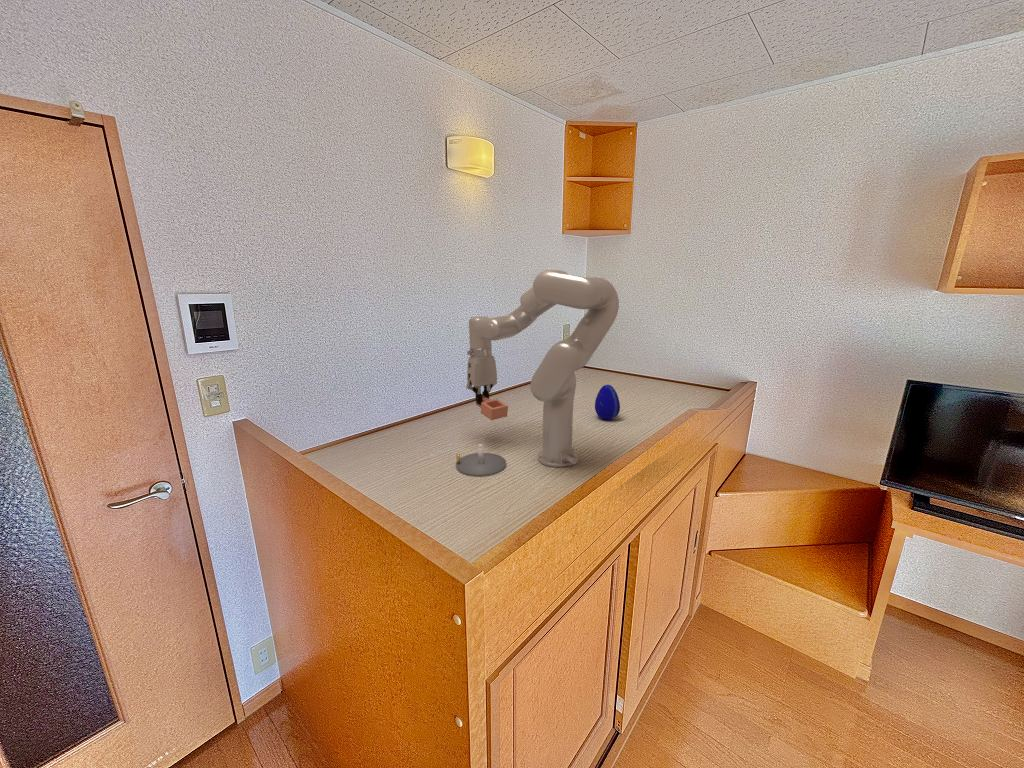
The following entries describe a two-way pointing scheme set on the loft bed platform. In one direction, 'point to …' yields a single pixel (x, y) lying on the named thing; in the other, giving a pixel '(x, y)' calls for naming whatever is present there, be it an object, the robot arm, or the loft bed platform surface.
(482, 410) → the orange square loop
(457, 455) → the dowel pin
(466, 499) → the loft bed platform surface
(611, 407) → the ornament
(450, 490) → the loft bed platform surface
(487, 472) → the post base
